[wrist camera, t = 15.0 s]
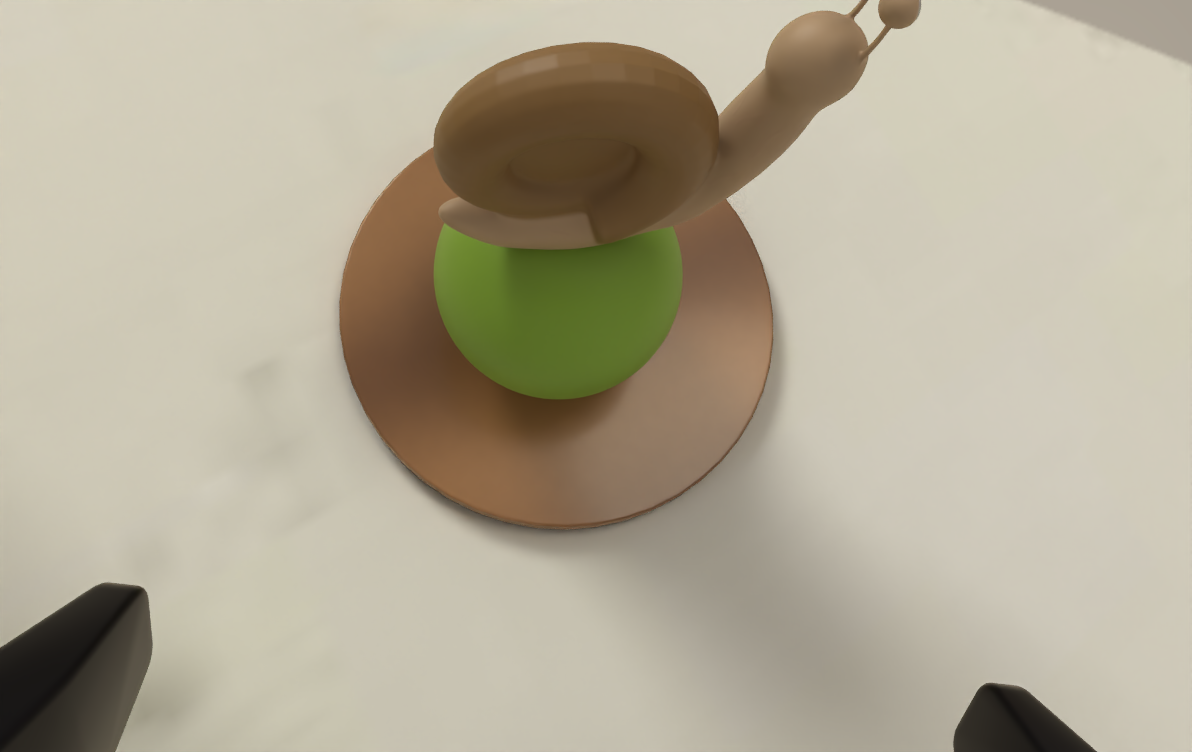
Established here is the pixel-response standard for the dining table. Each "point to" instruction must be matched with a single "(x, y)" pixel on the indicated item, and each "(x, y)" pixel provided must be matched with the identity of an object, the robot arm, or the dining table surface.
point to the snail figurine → (607, 192)
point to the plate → (551, 426)
